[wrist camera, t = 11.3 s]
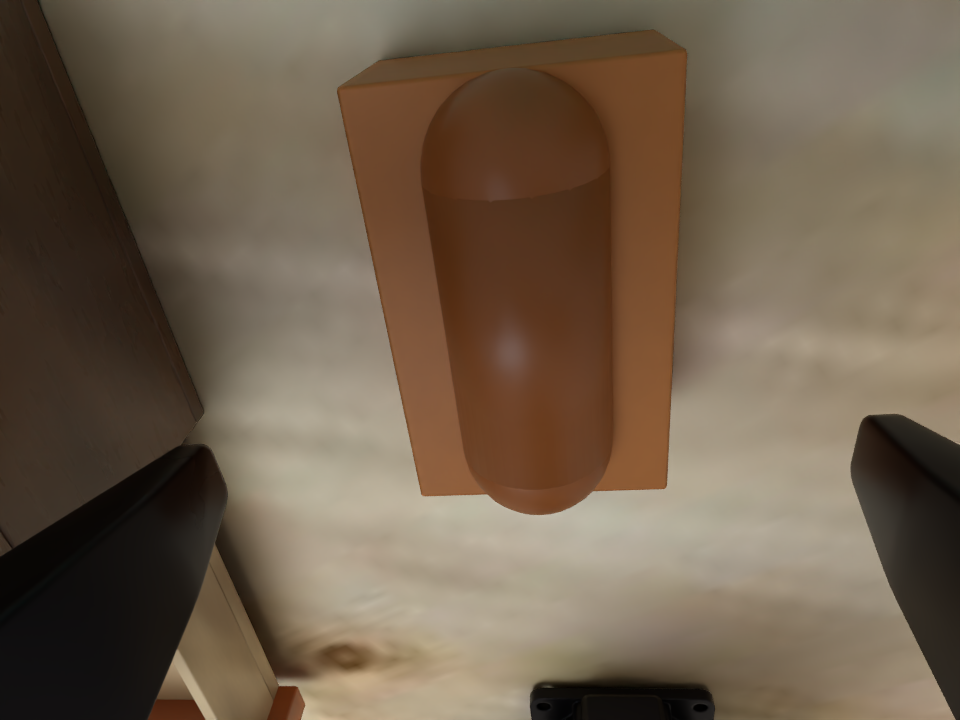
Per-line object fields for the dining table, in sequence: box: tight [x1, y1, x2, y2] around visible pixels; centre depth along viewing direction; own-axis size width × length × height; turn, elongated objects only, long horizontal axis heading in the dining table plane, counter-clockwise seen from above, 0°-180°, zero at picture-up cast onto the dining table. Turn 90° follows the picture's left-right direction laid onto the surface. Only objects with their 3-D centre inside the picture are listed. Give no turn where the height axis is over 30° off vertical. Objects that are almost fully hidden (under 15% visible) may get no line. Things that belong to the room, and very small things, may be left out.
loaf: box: [337, 30, 687, 515], centre depth 13 cm, size 9×6×5 cm, turn 6°
